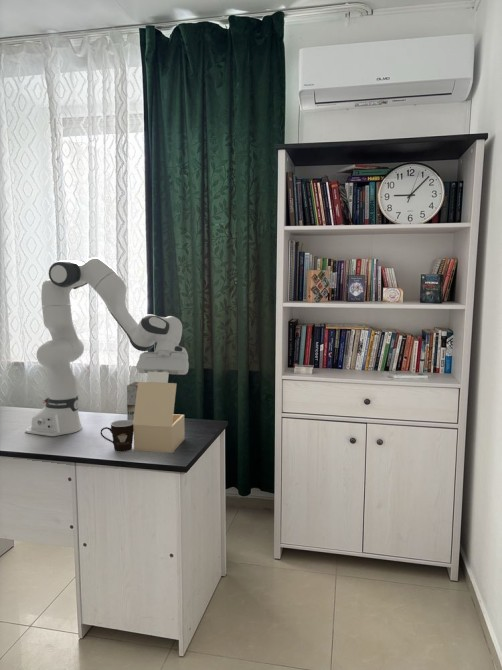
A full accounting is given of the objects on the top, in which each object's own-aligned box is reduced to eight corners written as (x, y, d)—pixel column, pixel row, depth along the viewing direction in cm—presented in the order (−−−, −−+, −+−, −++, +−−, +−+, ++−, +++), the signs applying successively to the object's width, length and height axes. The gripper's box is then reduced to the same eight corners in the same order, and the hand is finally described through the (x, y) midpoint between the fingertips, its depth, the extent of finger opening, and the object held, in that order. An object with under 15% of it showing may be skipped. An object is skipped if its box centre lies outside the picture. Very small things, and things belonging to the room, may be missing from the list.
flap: (133, 424, 189) (132, 424, 188) (140, 371, 195) (139, 371, 194) (172, 426, 187) (171, 426, 186) (177, 373, 192) (177, 372, 191)
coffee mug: (138, 446, 195) (138, 420, 194) (128, 453, 187) (127, 427, 185) (111, 443, 198) (110, 418, 196) (99, 451, 189) (98, 425, 188)
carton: (133, 450, 190) (133, 424, 189) (148, 436, 206) (148, 412, 205) (172, 452, 188) (172, 426, 187) (184, 438, 204) (184, 414, 203)
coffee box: (140, 421, 228) (139, 386, 226) (126, 420, 229) (126, 385, 227) (148, 415, 237) (147, 381, 235) (135, 414, 238) (134, 381, 236)
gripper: (138, 347, 201) (130, 376, 192) (189, 348, 198) (182, 378, 189) (143, 356, 206) (134, 385, 197) (192, 357, 203) (185, 387, 194)
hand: (158, 381), depth 193 cm, fingers closed, pressing on flap
